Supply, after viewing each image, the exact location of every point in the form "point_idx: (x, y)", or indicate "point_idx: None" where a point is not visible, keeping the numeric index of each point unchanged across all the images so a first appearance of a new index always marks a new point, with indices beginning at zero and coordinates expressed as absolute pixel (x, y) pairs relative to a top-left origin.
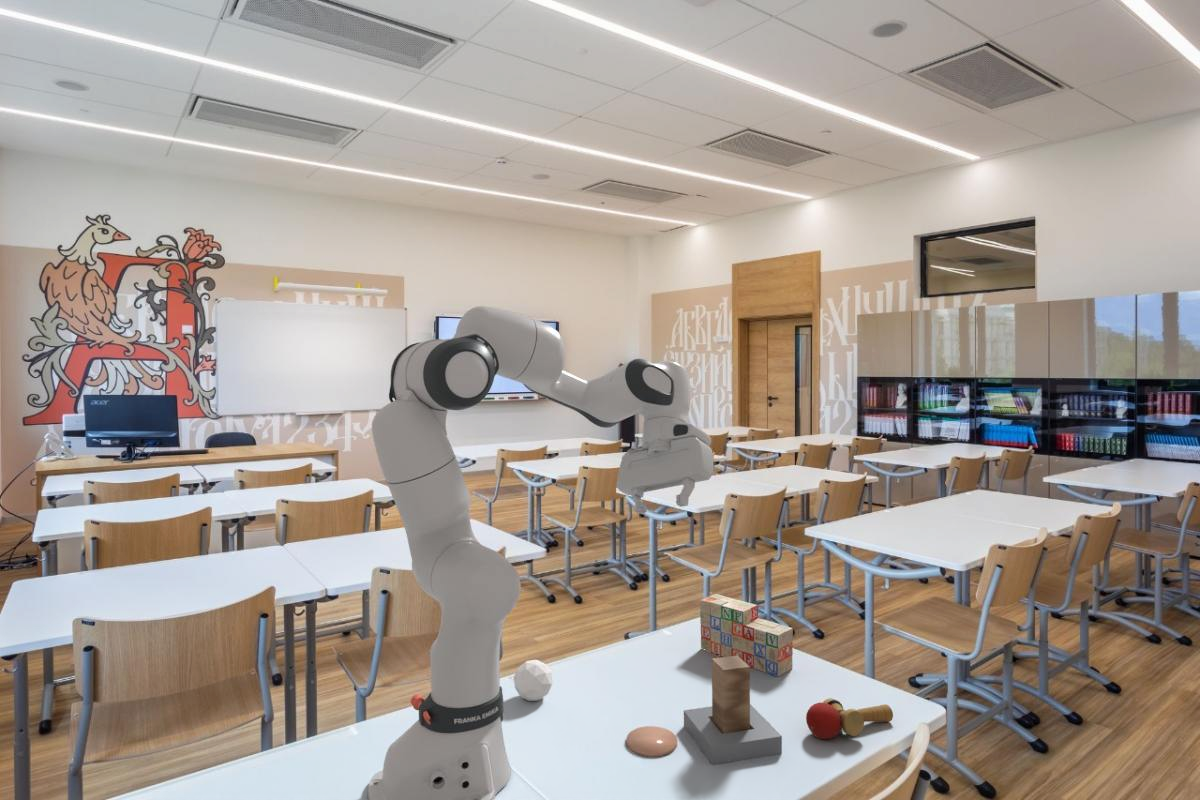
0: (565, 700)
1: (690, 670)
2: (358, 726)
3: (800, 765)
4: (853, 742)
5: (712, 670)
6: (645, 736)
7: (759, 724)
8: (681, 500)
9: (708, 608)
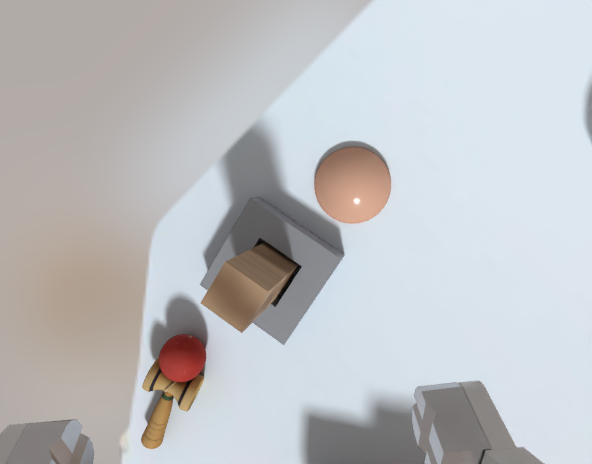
0: (567, 191)
1: None
2: None
3: (181, 268)
4: None
5: (272, 284)
6: (363, 185)
7: None
8: (8, 437)
9: None
